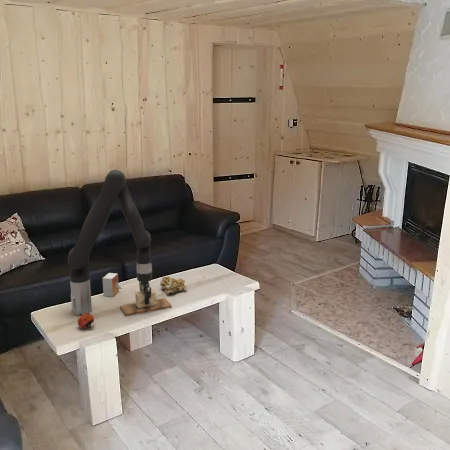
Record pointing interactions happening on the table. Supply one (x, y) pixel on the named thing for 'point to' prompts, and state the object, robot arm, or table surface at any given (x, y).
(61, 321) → the table surface
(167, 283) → the mineral formation
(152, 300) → the sanding block
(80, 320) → the pomegranate
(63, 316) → the table surface
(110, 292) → the small box
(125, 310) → the board
